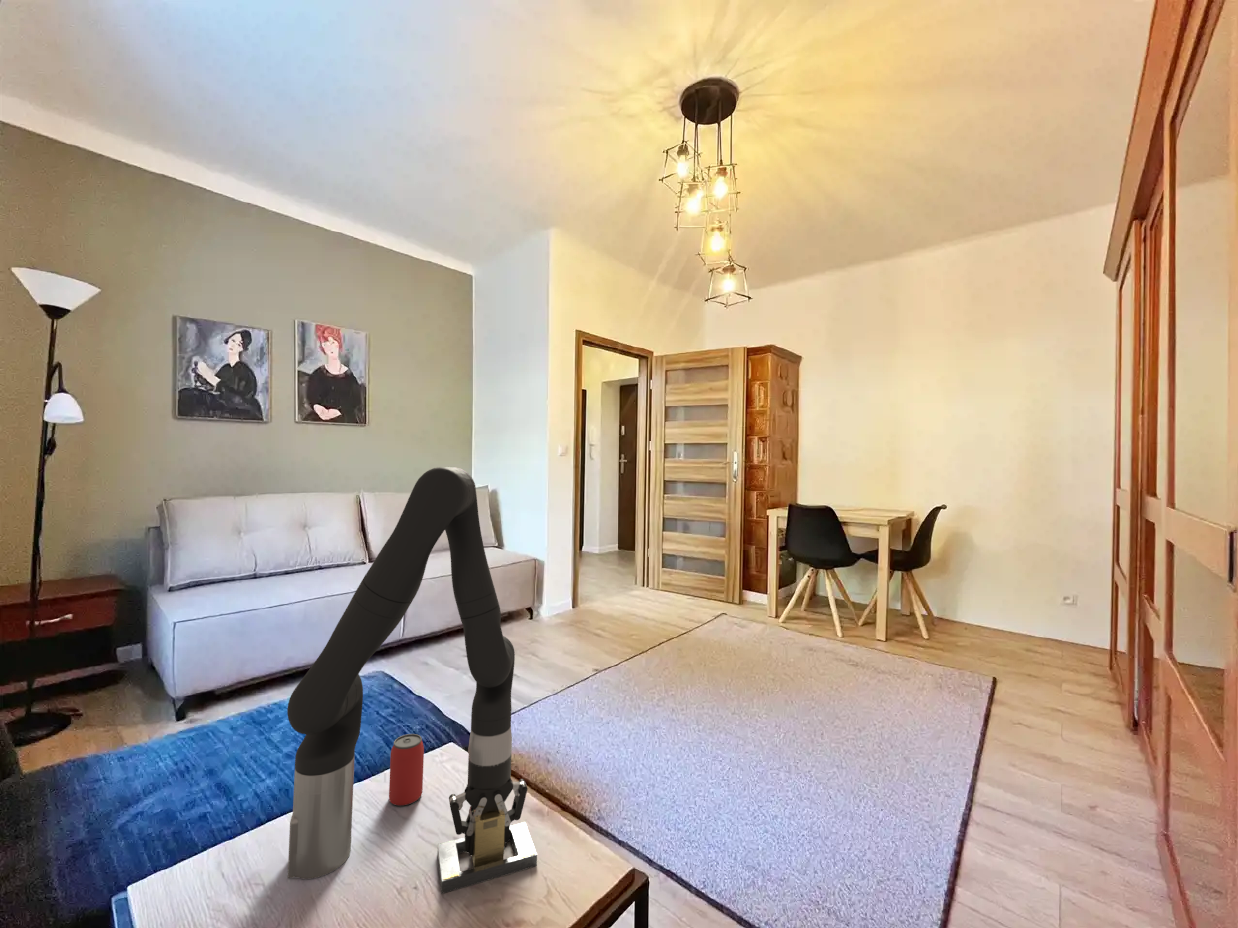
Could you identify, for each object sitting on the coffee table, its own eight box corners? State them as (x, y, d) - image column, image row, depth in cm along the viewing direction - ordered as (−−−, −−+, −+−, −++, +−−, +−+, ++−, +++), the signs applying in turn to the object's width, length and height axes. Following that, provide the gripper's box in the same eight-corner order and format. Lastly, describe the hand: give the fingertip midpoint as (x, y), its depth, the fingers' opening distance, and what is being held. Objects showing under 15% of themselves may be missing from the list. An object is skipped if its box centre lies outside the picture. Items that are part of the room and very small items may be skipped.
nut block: (474, 869, 87) (475, 822, 87) (470, 848, 91) (471, 804, 92) (503, 860, 89) (505, 814, 89) (498, 841, 93) (499, 797, 94)
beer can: (418, 784, 111) (420, 729, 112) (425, 800, 106) (427, 742, 106) (386, 794, 108) (388, 737, 108) (391, 811, 102) (394, 751, 103)
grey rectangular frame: (441, 893, 83) (441, 880, 83) (437, 855, 91) (437, 843, 91) (536, 865, 89) (537, 853, 89) (524, 832, 97) (525, 821, 98)
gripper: (450, 771, 84) (446, 875, 84) (534, 754, 90) (531, 851, 90) (446, 749, 91) (443, 844, 91) (524, 734, 97) (522, 824, 96)
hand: (487, 847), depth 90 cm, fingers closed on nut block, 5 cm apart
